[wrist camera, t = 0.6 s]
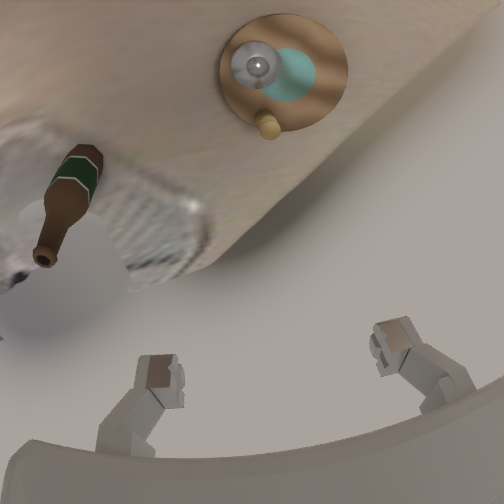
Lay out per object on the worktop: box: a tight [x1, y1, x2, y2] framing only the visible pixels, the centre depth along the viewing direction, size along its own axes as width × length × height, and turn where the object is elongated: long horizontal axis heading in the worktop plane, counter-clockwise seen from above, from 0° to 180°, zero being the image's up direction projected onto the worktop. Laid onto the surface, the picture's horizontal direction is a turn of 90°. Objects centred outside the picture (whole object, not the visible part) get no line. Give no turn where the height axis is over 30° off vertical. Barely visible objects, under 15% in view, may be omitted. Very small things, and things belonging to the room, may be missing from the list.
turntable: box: [219, 14, 348, 140], centre depth 38 cm, size 20×20×7 cm
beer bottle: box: [33, 144, 103, 268], centre depth 40 cm, size 8×8×24 cm
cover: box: [230, 40, 283, 89], centre depth 36 cm, size 7×7×4 cm
